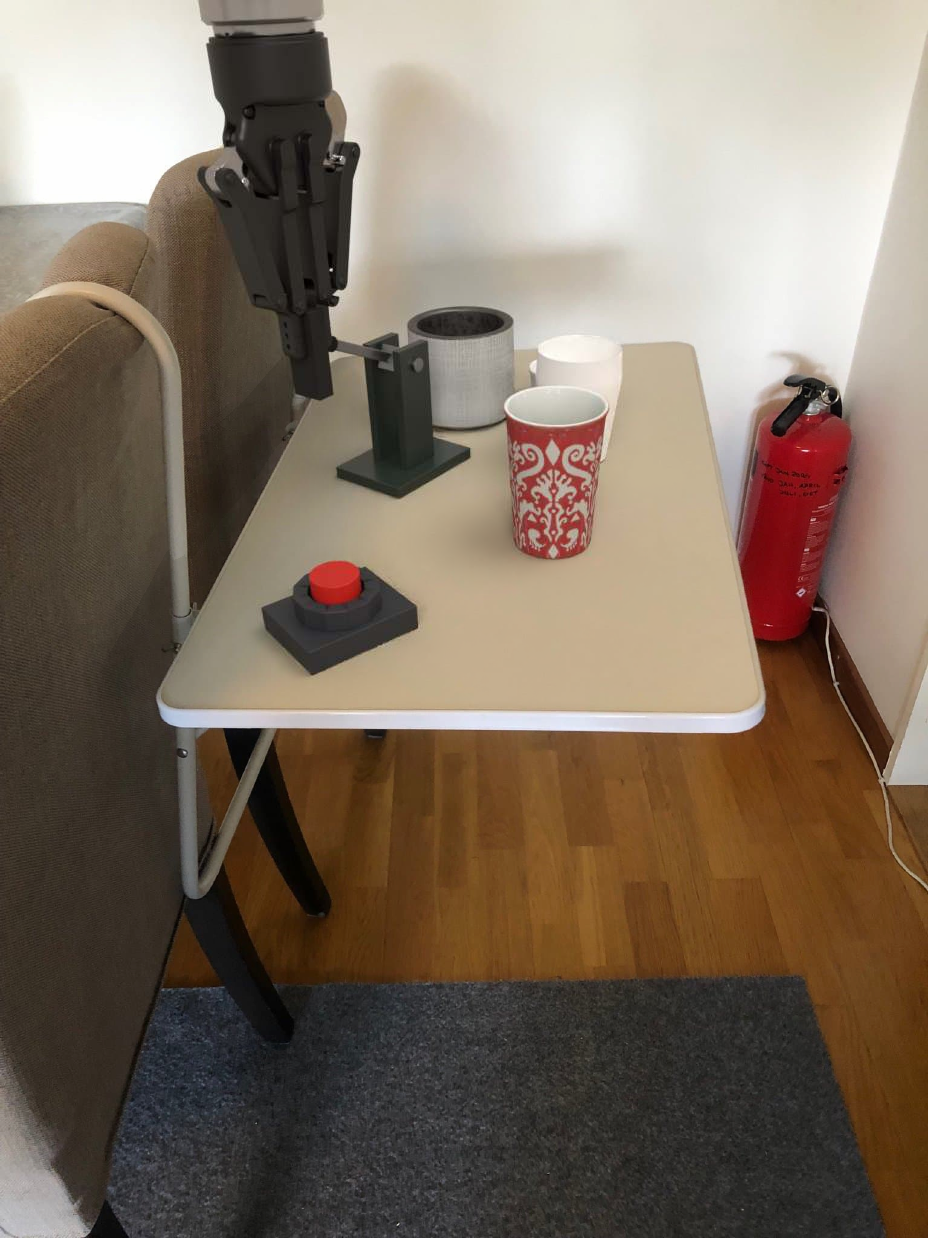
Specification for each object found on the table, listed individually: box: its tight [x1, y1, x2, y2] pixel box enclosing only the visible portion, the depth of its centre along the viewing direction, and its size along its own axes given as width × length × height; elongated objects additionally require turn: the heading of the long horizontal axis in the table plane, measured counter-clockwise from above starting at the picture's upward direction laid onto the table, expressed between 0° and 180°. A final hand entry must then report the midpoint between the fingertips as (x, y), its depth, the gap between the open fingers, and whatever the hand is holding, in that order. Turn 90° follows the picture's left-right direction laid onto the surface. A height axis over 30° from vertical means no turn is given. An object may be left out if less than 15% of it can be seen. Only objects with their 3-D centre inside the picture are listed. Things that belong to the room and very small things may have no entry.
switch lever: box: [328, 335, 400, 372], centre depth 89 cm, size 14×5×2 cm, turn 142°
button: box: [309, 560, 362, 605], centre depth 73 cm, size 4×4×2 cm
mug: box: [503, 386, 610, 560], centre depth 84 cm, size 13×9×14 cm
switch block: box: [261, 566, 419, 676], centre depth 75 cm, size 10×8×4 cm
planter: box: [406, 305, 516, 431], centre depth 109 cm, size 13×13×11 cm
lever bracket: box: [335, 331, 472, 499], centre depth 96 cm, size 12×9×14 cm
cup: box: [536, 334, 623, 463], centre depth 98 cm, size 9×9×12 cm
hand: (314, 393), depth 70 cm, fingers closed
